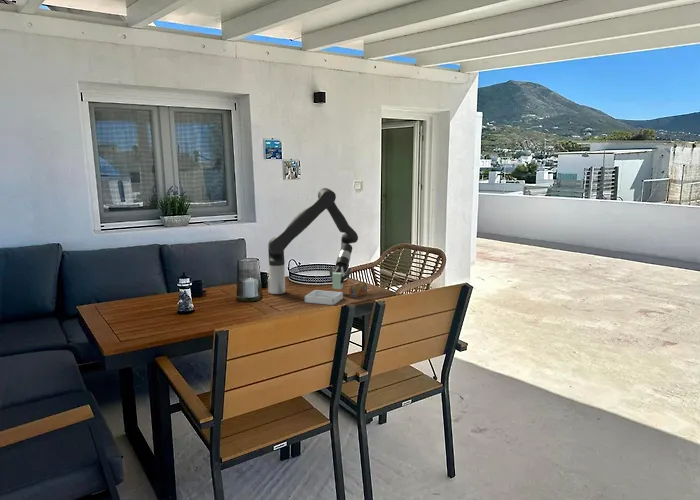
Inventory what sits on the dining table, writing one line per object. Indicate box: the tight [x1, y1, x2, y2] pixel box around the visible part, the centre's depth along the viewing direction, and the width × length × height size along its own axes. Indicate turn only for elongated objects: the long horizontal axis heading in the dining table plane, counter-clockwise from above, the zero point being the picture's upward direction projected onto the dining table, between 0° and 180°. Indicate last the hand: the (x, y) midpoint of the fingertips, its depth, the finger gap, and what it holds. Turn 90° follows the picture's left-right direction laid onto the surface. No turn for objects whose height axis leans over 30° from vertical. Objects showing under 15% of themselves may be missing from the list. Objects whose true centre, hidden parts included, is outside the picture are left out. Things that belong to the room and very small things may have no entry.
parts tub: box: [304, 289, 344, 306], centre depth 272 cm, size 17×15×4 cm
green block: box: [331, 272, 344, 290], centre depth 286 cm, size 5×5×9 cm
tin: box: [348, 281, 368, 299], centre depth 282 cm, size 15×3×8 cm, turn 143°
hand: (336, 282), depth 284 cm, fingers closed on green block, 5 cm apart
